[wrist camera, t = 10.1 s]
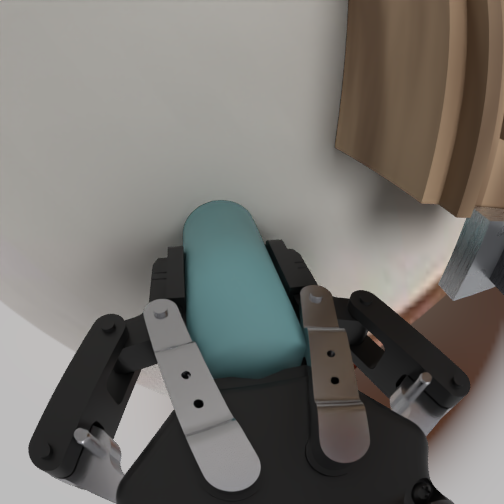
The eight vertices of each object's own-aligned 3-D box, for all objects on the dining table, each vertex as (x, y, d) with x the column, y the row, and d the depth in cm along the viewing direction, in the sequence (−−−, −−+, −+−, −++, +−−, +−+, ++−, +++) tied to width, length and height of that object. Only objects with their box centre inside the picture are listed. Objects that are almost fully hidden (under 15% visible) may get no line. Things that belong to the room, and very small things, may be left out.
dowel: (186, 266, 17) (199, 411, 9) (179, 203, 14) (181, 349, 7) (254, 260, 17) (303, 393, 10) (256, 197, 15) (325, 327, 8)
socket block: (334, 147, 14) (439, 217, 8) (349, -47, 8) (455, -86, 1) (477, 170, 17) (550, 220, 11) (495, 38, 10) (576, 59, 4)
